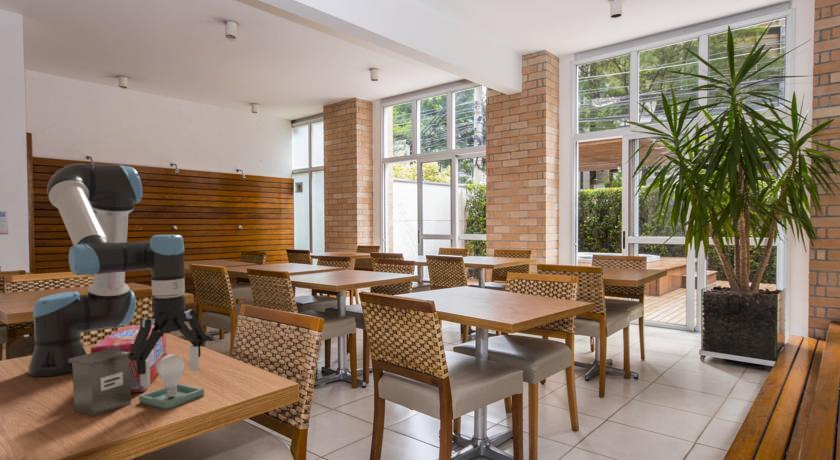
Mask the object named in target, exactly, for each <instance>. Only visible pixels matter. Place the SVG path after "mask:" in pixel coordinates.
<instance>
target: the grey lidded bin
mask: <svg viewBox="0 0 840 460" xmlns="http://www.w3.org/2000/svg"><path fill="white" fill-rule="evenodd" d="M129 354H130V352H127V351H122V350H116V349H107V350H103V351H99V352H95V353H91V352H90V353H86V355H82V356H78V357H74V358H70V359H68V362H70V363H72V365H73V372H72V385H73V387H72V388H73V409H74V410H73V411H74V412H77V413H79V414H80V413H81V414H84V415H86V416H90V417H96V416H98V415H101V414H104V413H108V412H110V411H113V410H116V409H120V408H123V407H124V406H128V405H131V393H130V369H129V358H128V356H129Z"/></svg>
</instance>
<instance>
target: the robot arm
mask: <svg viewBox="0 0 840 460" xmlns="http://www.w3.org/2000/svg"><path fill="white" fill-rule="evenodd" d="M46 195H47V198H48V200H49V202H50V204H51V205H52V206H54V207H55V208H57V209H58V212H59V215H60V217H61V219H62V221H63V224H64V226H65V229H66V230H67V233H68V235H69V237H70V240H71V242H72V246H71V247H70V248H69V250H68V264H69V270H70V272H71V273H72V274H73V275H75V276H88V275H89V276H93V283H92V284H91V285H89V287H87V294H83V295H81V294H80V292H79V291H77V290H76V291H66V292H65V291H64V292H59V293H54V294H50V295H49V294H48V295H45V296H42V297H41V298H38V299H37V300H35V301H34V303H33V313H32V317H33V331H34V348H33V349H34V350H33V353H32V355H31V358H30V361H29V365H28V375H29V376H31V377H52V376H60V375H65V374H70V373H73V365H72V363H70V362H68V359H70V358H74V357H78V356H82V355H86V354H87V352H86V349H85V347H84V345H83V343H82V333H83V332H91V331H97V330H98V331H99V330H103V329H104V330H105V329H111V328H114V329H115V328H118V327H123V326H126V325H128V324H129V323H130V322H132V319H133V318H134V315H135V311H136V306H137V305H136V295H135V292H134V291H133V290H131V289H130V286H129V285H128V284H127V283H126V272H127V273H128V272H137V271H138V272H139V271H149V270H150V271H151V273H150V274H151V276H150V277H151V296H153V297H152V299H151V307H152V312H153V315H152V318H141V320H140V322H139V323H140V324H139V325H140V329H139V332H138V334H137V337H136V339H135V341H134V344H133V346H132V349H131V351H130V354H129V356H128V358H129V359H130V360H135V361H137V372H138V374H140V381H141V386H143V387H147V389H148V388H151V384H150V360H146V359H147V357H148V356H149V354H150V353H151V351H152V350H153V348H154V347H155V345H156V343H157V342H158V340H159V339H160V337H162V336H163V335H164V333H166V334H169V333H171V332H177V331H179V332H180V333H181V334H182V335H183V337H184V338H185V339H186V340H188V342H190V344H191V345H189V347H188V352H189V353H188V355H189V357H188V358H189V361H188V362H189V370H190V371H192V372H199V371H200V369H199V368H200V364H199V360H200V357H201V347H202V346H203V345H204V343H205V342H207V340H208V337H207V336H206V334H205V332H204V329H203V328H202V326H201V324H200V321H199V320H198V317H197V312H196V310H195V309H186V296H185V295H184V294H185V292H186V285H185V282H186V281H185V244H184V237H183V235H181V234H154V235H152V236H151V237H150V239H149V240H143V241H129V242H128V229H129V228H128V227H129V214H130V213H132V212H133V211H134V210H135V204H139V203H141V201H142V198H143V185H142V181H141V178H140V175H139V173H138V171H137V170H136V169H135V168H134V167H133V166H127V165H122V164H104V163H103V164H101V163H85V162H84V163H83V162H78V163H72V164H68V165H65V166H64V167H61V168H60V169H58V170H57V171H56V172H54V174H52V176H51V177H50V178H49V181H48V182H47V188H46ZM185 309H186V310H185ZM185 319H186V320H187V323H188V325H189V326H190V328H191V329H190V328H189V326H188V325H187V324H186V323H185V322H184V321H185ZM153 324H154V325H155V326H154V328H153V329H152V331H151V334H150V336H149V338H148V335H149V333H150V330H151V327H153ZM158 330H159V331H158ZM191 330H192V331H191ZM147 338H148V339H147ZM146 340H147V341H146Z"/></svg>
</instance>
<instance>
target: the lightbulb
mask: <svg viewBox="0 0 840 460" xmlns="http://www.w3.org/2000/svg"><path fill="white" fill-rule="evenodd" d="M185 368H186V364H185V360H184V359H183V357H181V356H180V355H178V354H175V353H174V354H173V353H171V354H167V355H166V356H164V357H163V358H162V359H161V360H160V361H159V363H158V365H157V372H158V374H159V375H158V376H159V377H160V378H161V380H162V381H163V385H164V387H165V390H166V397H168V398H173V397H175V396H176V395H177V385H178V383H179V380H180V378H181V376H182V375H183V374H184V371H185Z"/></svg>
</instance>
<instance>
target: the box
mask: <svg viewBox="0 0 840 460" xmlns="http://www.w3.org/2000/svg"><path fill="white" fill-rule="evenodd" d="M154 326H155V325H154V324H153V327H151V330H150V333H149V335H148V338H149V336H150V334H151V331H152V329H153V328H154ZM139 329H140V324H139V325H127V326H126V325H124V326H121V327H120V328H118V329H117V330H116V331H114V332H112V333H111V334H109V335H108V336H106V337H105V338H103V339H101V340H100V341H98V342H97V343H95V344H94V345H92V346H90V353H95V352H99V351H103V350H107V349H116V350H122V351H127V352H130V351H131V349H132V346H133V344H134V341H135V339H136V337H137V334H138V332H139ZM158 331H159V330H158ZM148 338H147V339H148ZM146 341H147V340H146ZM166 355H168V351H167V333H164V335H163V336H162V337H160V339H159V340H158V342H157V343H156V345H155V347H154V348H153V350H152V351H151V353H150V354H149V356H148V357H147V359H146V360H150V385H151V384H152V383H153V382H154V381H155V380H156V379H157V377H158V376H159V374H158V372H157V365H158V363H159V361H160V360H161V359H162V358H163V357H164V356H166ZM129 369H130V394H131V393H132V394H133V393H143V392H146V390H147V389H148V388H147V387H143V386H141V381H140V374H138V372H137V361H135V360H130V359H129Z"/></svg>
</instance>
